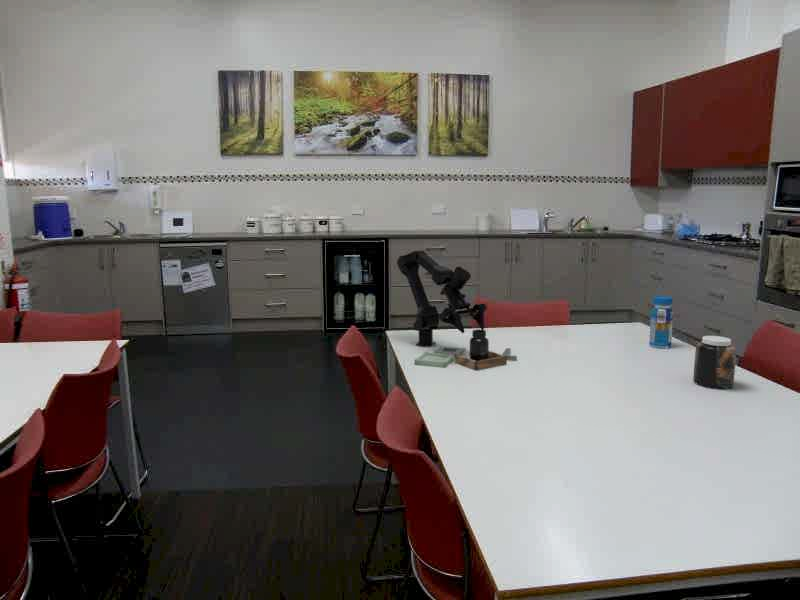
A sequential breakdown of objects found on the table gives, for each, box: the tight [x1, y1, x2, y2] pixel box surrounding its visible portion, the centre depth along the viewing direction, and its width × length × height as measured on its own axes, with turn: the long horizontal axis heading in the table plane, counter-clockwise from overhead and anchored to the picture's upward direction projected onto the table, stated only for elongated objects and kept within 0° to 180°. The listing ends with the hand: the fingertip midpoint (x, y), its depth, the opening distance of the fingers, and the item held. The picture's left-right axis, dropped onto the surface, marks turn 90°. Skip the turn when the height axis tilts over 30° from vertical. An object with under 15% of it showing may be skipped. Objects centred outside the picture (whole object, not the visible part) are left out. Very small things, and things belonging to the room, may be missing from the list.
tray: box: [414, 351, 455, 368], centre depth 236 cm, size 12×12×2 cm
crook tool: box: [501, 347, 518, 362], centre depth 243 cm, size 12×6×2 cm, turn 161°
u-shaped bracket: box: [454, 350, 508, 371], centre depth 233 cm, size 12×14×3 cm
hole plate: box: [432, 345, 467, 356], centre depth 248 cm, size 10×10×1 cm
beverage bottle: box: [648, 295, 674, 349], centre depth 255 cm, size 8×8×20 cm
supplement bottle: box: [469, 329, 490, 361], centre depth 233 cm, size 7×7×12 cm
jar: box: [692, 335, 737, 389], centre depth 207 cm, size 12×12×15 cm
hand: (473, 330), depth 235 cm, fingers open, 9 cm apart
